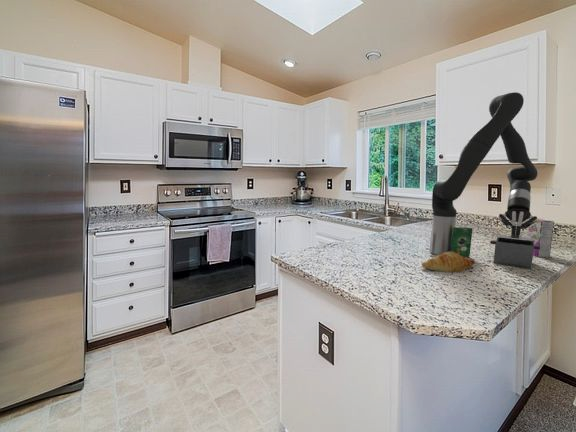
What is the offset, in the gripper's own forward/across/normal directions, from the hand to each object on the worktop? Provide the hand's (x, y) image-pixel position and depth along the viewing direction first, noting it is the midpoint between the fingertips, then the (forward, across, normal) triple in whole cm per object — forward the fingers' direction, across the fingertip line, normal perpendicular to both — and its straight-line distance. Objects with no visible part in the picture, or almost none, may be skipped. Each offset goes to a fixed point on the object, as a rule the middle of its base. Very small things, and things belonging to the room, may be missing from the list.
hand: (515, 235), depth 119 cm
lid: (+1, 0, +1) cm, 1 cm away
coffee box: (+9, -18, +8) cm, 22 cm away
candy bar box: (-10, +8, +28) cm, 31 cm away
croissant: (+24, -20, -8) cm, 32 cm away
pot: (+6, 0, +10) cm, 12 cm away
